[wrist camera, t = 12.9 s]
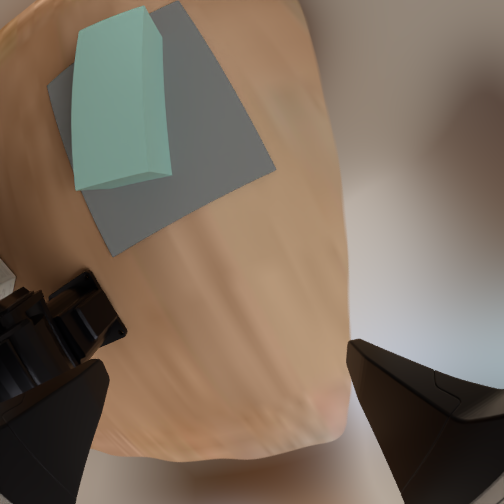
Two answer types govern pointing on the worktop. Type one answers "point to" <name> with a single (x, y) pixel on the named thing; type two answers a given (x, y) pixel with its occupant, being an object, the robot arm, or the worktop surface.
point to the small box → (6, 280)
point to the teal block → (119, 103)
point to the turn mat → (176, 139)
